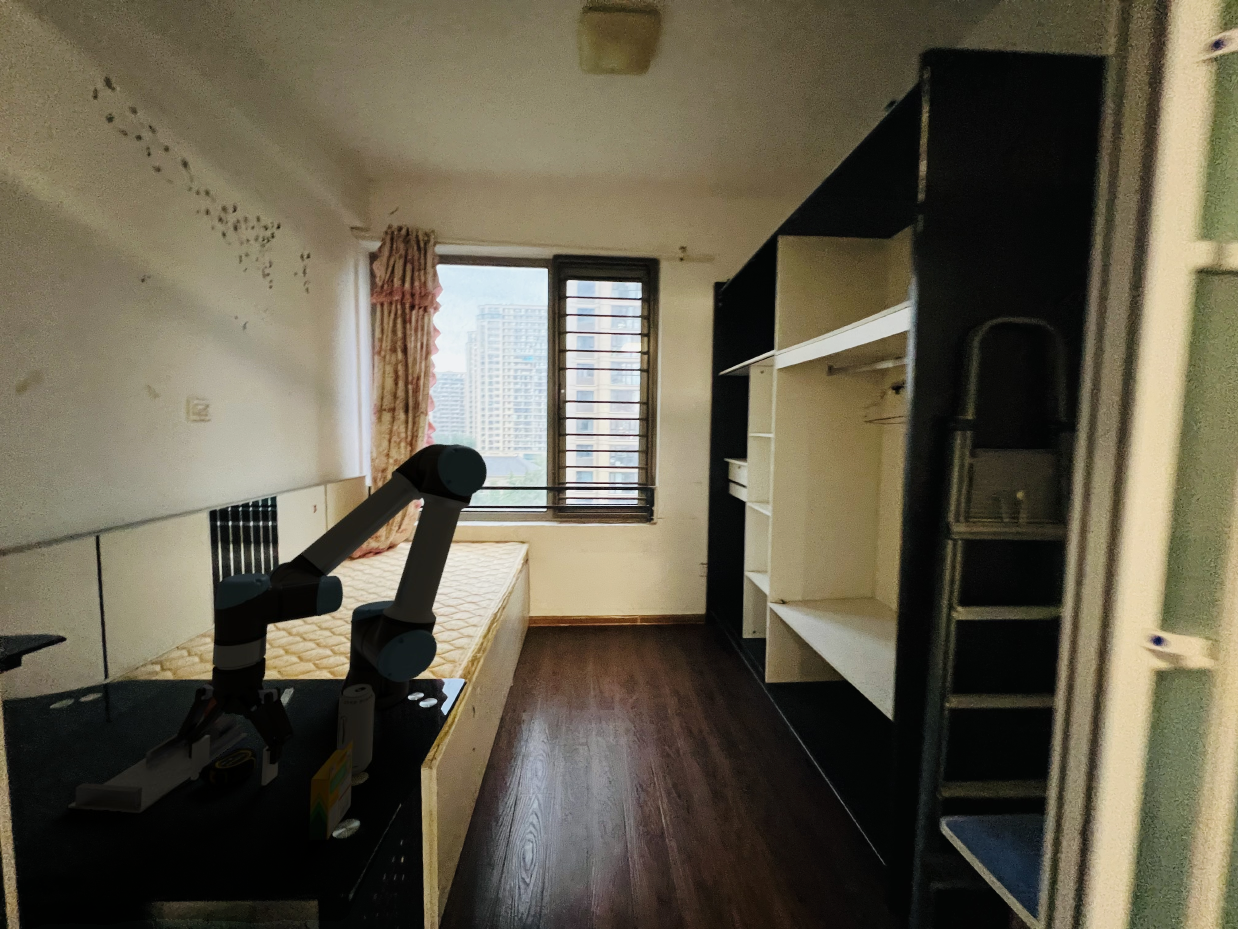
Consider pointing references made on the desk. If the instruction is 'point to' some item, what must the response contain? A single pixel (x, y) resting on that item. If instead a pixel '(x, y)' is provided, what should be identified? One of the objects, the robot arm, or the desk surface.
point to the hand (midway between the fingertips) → (234, 777)
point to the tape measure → (230, 767)
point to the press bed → (149, 776)
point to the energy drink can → (357, 724)
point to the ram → (218, 723)
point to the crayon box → (330, 794)
